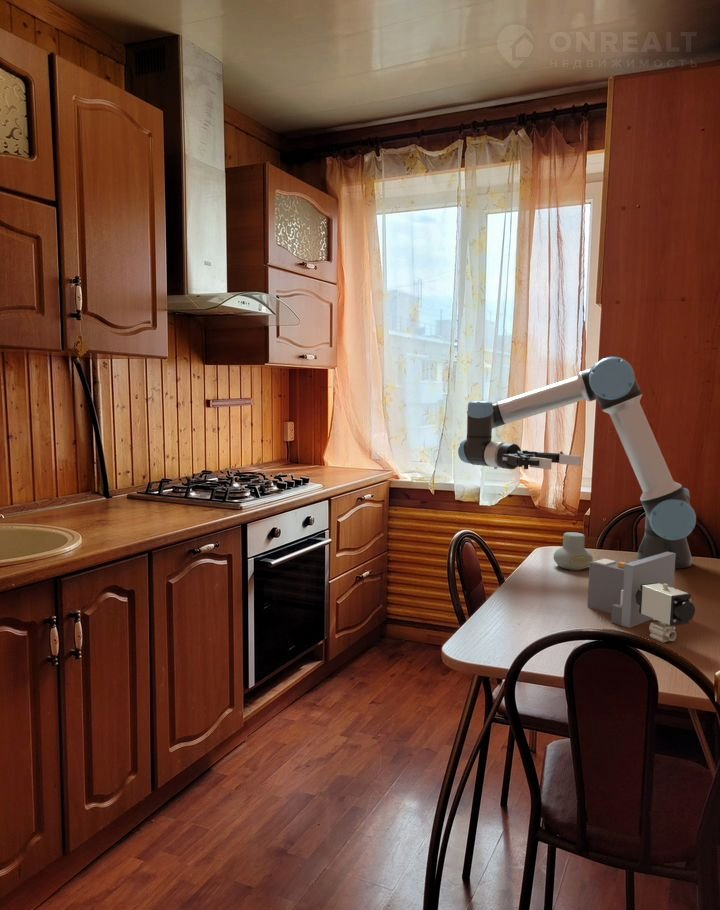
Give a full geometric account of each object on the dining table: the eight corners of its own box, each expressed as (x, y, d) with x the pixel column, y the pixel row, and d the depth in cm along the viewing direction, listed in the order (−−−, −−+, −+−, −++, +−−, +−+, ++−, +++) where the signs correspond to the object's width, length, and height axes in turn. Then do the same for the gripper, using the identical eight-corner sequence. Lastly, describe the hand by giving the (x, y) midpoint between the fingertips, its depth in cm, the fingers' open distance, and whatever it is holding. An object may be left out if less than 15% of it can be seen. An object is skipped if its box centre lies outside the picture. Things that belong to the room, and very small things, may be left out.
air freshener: (562, 572, 198) (564, 538, 197) (548, 565, 206) (550, 531, 205) (597, 570, 201) (598, 536, 200) (582, 563, 209) (583, 530, 208)
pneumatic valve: (676, 651, 141) (680, 593, 140) (632, 631, 152) (635, 577, 150) (696, 647, 143) (700, 590, 142) (651, 628, 154) (654, 575, 153)
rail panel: (653, 606, 169) (657, 549, 168) (672, 610, 166) (675, 553, 164) (611, 622, 157) (614, 561, 156) (629, 628, 154) (633, 565, 152)
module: (599, 603, 171) (601, 555, 170) (641, 615, 163) (644, 564, 162) (587, 607, 168) (589, 558, 167) (629, 619, 160) (632, 568, 158)
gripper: (529, 465, 214) (591, 473, 197) (474, 471, 198) (536, 480, 182) (530, 440, 213) (592, 446, 197) (475, 444, 197) (538, 451, 181)
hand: (565, 462), depth 189 cm, fingers open, 13 cm apart
